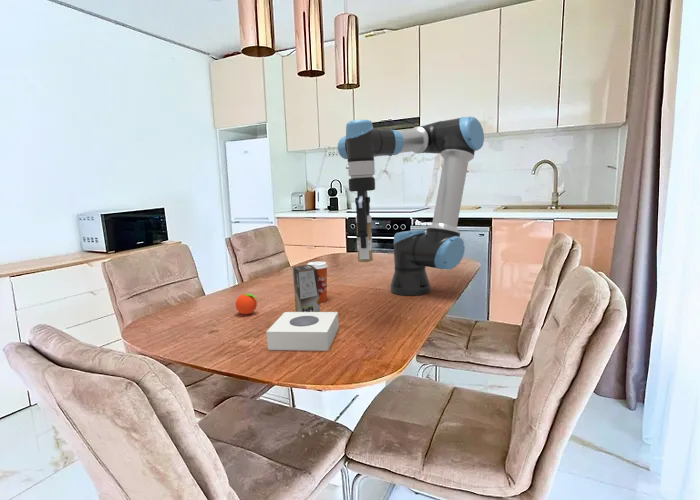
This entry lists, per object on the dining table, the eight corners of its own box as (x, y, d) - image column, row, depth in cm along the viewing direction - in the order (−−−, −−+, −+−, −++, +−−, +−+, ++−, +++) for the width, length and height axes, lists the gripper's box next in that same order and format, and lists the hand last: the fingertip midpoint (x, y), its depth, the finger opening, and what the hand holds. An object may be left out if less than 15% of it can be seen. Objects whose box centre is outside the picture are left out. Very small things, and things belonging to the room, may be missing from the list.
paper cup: (324, 304, 144) (322, 265, 141) (305, 303, 146) (302, 265, 144) (332, 298, 151) (330, 261, 149) (313, 297, 154) (311, 260, 151)
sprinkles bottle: (357, 263, 118) (355, 216, 116) (357, 260, 123) (355, 215, 120) (373, 262, 118) (371, 216, 116) (373, 259, 123) (370, 214, 120)
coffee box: (321, 318, 129) (318, 269, 126) (301, 321, 127) (298, 271, 124) (313, 310, 137) (310, 264, 135) (295, 313, 135) (291, 266, 133)
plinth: (338, 328, 120) (337, 311, 119) (328, 350, 104) (327, 331, 103) (286, 328, 122) (284, 311, 121) (268, 349, 106) (266, 330, 106)
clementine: (264, 311, 139) (262, 291, 138) (254, 317, 133) (252, 296, 132) (243, 310, 142) (241, 290, 140) (232, 316, 135) (230, 296, 134)
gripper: (352, 177, 125) (356, 252, 129) (343, 177, 108) (348, 263, 112) (377, 176, 124) (380, 251, 128) (371, 176, 107) (375, 263, 111)
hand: (365, 257), depth 120 cm, fingers closed on sprinkles bottle, 4 cm apart
